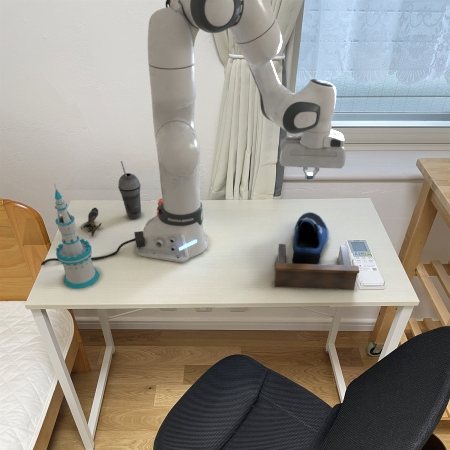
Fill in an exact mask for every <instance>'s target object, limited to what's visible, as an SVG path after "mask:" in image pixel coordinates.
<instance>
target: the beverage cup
mask: <svg viewBox="0 0 450 450" xmlns="http://www.w3.org/2000/svg"><path fill="white" fill-rule="evenodd" d="M120 163H121V167H122V170H123V174H122V175H121V176H120V177H119V179H118V187H117V188H118V190H119V193H120V195H121V198H122V202H123V205H124V209H125V212H126V214H127V218H128V219H129V220H134V221H135V220H139V219H140V218H141V217H142V204H141V185H142V184H141V182H140V180H139V178H138V177H137V175H135V174H133V173H131V172H126V169H125V165H124V162H123V161H122V160H121V161H120Z"/></svg>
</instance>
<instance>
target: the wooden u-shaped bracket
mask: <svg viewBox="0 0 450 450" xmlns="http://www.w3.org/2000/svg"><path fill="white" fill-rule="evenodd" d="M277 249H278V250H277V262H274V271H275V273H274V288H297V289H300V288H301V289H321V290H322V289H325V290H326V289H327V290H350V291H351V290H352V291H354V290H355V286H356V283H357V279H358V274H360V267H359V265H352V262H351V258H350V253H349V249H348V245H339V251H338V256H337V263H338V264H322V263H320V264H292V262H291V263H287V246H286V243H278V248H277Z"/></svg>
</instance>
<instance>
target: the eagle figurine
mask: <svg viewBox="0 0 450 450" xmlns="http://www.w3.org/2000/svg"><path fill="white" fill-rule="evenodd" d="M98 216H99V209H98V207H93V208H92V209H91V210H90V211H89V213H88V215H87V218H88V219H87V221H85V222H84V223H83V224H82V225H81V226H80V230H85V228H87V229H88V231H87V232H88V233H91V237H94V234H95V232H96V230H100V229H101V228H100V227H101V225H102V223H101V222H100V223H99V224H98V225H97V224H96V222H95V221H96V219H97V217H98Z"/></svg>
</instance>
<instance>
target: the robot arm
mask: <svg viewBox="0 0 450 450" xmlns="http://www.w3.org/2000/svg"><path fill="white" fill-rule="evenodd" d="M269 1H270V0H165V7H163V8H160V9H158V10H156V11H154V12H153V13H152V14H151V16H150V17H149V21H148V27H147V63H148V72H149V83H150V84H149V85H150V86H149V87H150V97H151V107H152V108H151V109H152V123H153V134H154V135H153V136H154V140H155V147H156V153H157V161H158V162H157V163H158V170H159V183H160V189H161V198H159V200H158V202H157V206H156V207H157V208H156V215H155V216H153V217H152V218H150V219H149V220H148V221H147V222H146V223H145V225H144V227H143V230H139V231H134V237H133V238H132V239H129V240H126V241H124V242H122V243H121V244H120V245H119V246H118V247H117V249H116V250H115V251H114V252H111V253H109V254H107V255H101V256H93V257H91V260H92V261H96V260H103V259H107V258H110V257H114V256H115V255H117V254H118V253H119V252H120V251H121V249H122V247H124V246H125V245H127V244H130V243H132V242H135V252H136V254H137V256H139V257H143V258H144V257H145V258H151V259H157V260H163V261H167V262H168V261H170V262H176V263H185V262H187V261H188V260H189V259H191V258H193V257H197V256H199V255H201V254H202V253H204V252H205V251H206V250H207V249H208V246H209V240H208V238H207V236H206V231H205V229H204V224H203V222H204V209H203V203H202V201H201V187H200V186H201V185H200V173H201V147H200V143H199V140H198V137H197V134H196V129H195V105H196V104H195V103H196V95H197V93H196V65H195V64H196V63H195V43H196V42H195V41H196V39H197V36H198V33H199V31H200V30H201V31H203V32H205V33H209V34H219V33H222V32H224V31H226V30H228V29H229V31H230V33H231V35H232V37H233V40H234V42H235V44H236V46H237V48H238V49H239V52H240V53H241V55H242V57H243V58H244V60H245V62H246V63H247V66H248V69H249V71H250V74H251V76H252V78H253V81H254V83H255V86H256V88H257V90H258V93H259V103H260V105H259V106H260V111H261V113H262V115H263V116H264V118H266V119H267V120H269V121H270V122H272V123H274V124H275V125H277V126H278V127H279V128H281V129H283V130H284V131H285V132H287V133H289V134H293V136H291V135H285V137H282V138H281V139H280V142H279V148H280V154H279V164H280V166H282V167H285V168H287V167H288V168H302V171H303V173H304V180H307V181H315V176H316V175H317V174H318V173H319V172H320V169H338V170H339V169H342V168H344V167H345V165H346V149H345V137H344V134H343V133H342V132H339V131H337V130H334V129H332V120H333V118H334V117H333V116H334V115H335V110H336V109H335V108H336V100H337V89H336V86H335V85H334V84H333V83H331V81H328V80H325V79H321V78H312V79H310V80H309V81H308V83H307V85H306V86H304V87H303V88H302V89H300V90H299V91H298V92H295V93H294V92H292V91H291V90H290V89H289V88H288V87H286V86H285V85H283V84H282V82H280V79H279V77H278V74H277V72H276V69H275V65H274V62H273V60H274V59H275V58H276V57H277V55H278V54H279V52H280V50H281V49H282V45H283V36H282V31H281V27H280V24H279V22H278V20H277V17H276V14H275V13H274V10H273V7H272V5H271V4H270V2H269ZM297 134H300V136H299V135H297ZM309 168H313V169H314V170H313V171H312V172H308V169H309ZM49 262H60V261H59V259H58V258H57V257H53V258H47V259H45V260H43V261H42V262H41V263H40V266H44V265H45V264H46V263H49Z"/></svg>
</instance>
